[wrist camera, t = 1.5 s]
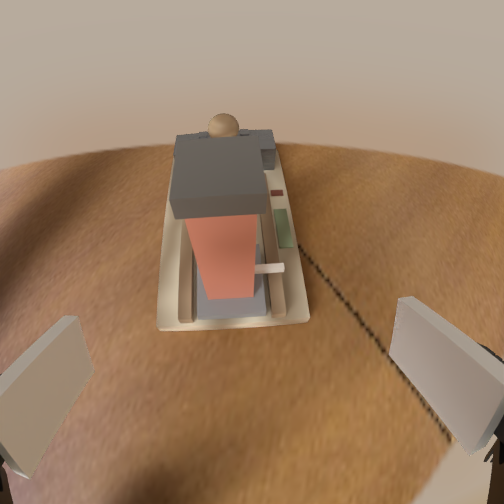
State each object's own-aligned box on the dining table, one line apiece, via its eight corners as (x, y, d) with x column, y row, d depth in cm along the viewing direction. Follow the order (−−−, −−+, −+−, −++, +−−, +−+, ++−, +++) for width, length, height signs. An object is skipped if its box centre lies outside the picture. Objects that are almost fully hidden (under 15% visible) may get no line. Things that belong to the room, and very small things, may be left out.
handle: (198, 319, 26) (154, 218, 13) (198, 253, 29) (170, 131, 17) (285, 314, 26) (319, 208, 14) (276, 248, 30) (294, 125, 17)
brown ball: (208, 150, 33) (206, 125, 30) (209, 132, 34) (207, 109, 31) (239, 148, 33) (239, 123, 30) (238, 131, 35) (237, 107, 32)
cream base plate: (160, 331, 27) (152, 322, 24) (175, 164, 39) (172, 149, 36) (307, 322, 27) (312, 312, 25) (276, 158, 39) (278, 143, 37)
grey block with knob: (178, 176, 35) (171, 147, 31) (180, 155, 37) (175, 127, 33) (274, 170, 36) (276, 140, 32) (270, 150, 38) (272, 121, 34)
